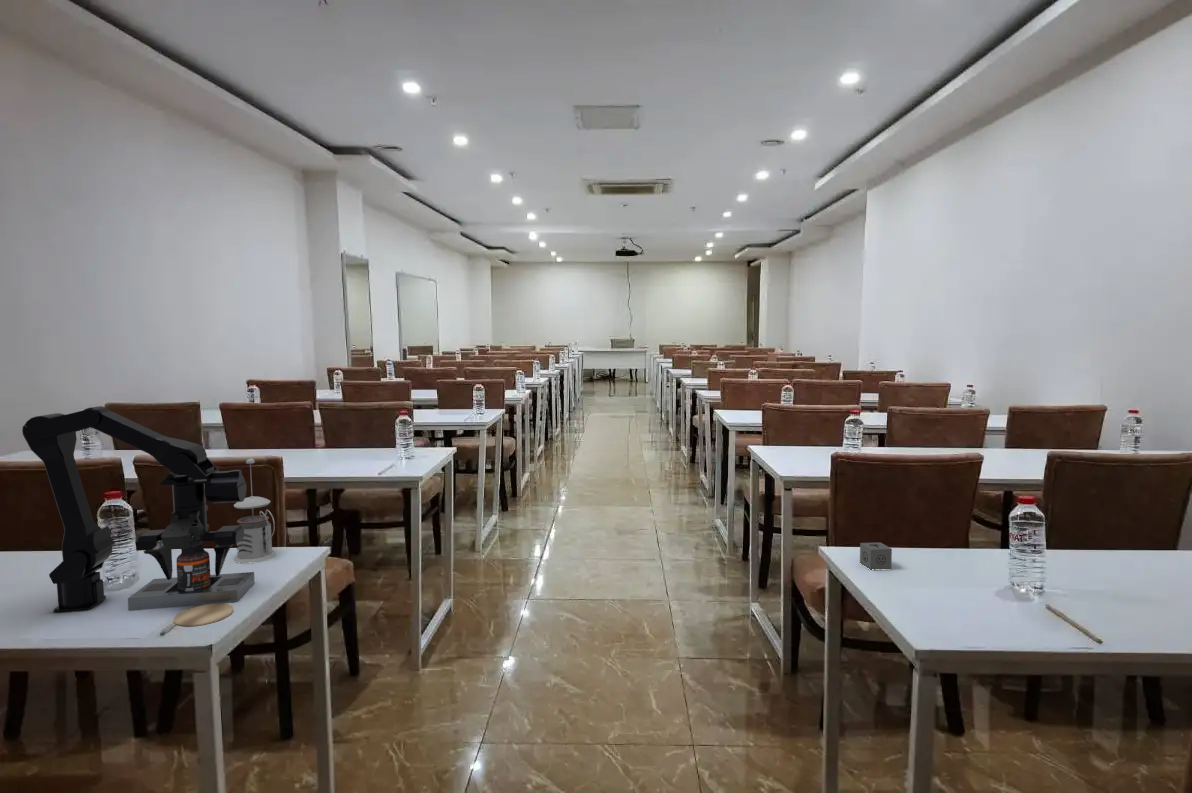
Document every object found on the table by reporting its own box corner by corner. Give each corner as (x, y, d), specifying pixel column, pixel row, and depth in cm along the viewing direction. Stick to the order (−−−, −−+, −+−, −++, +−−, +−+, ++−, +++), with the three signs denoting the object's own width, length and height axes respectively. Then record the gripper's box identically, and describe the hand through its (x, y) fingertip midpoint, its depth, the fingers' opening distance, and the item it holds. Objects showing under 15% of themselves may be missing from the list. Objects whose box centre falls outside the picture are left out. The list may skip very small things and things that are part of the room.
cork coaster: (164, 628, 120) (164, 626, 120) (187, 607, 130) (187, 605, 130) (223, 623, 122) (222, 621, 122) (241, 603, 132) (241, 601, 132)
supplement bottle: (195, 602, 132) (192, 548, 132) (171, 600, 134) (167, 547, 133) (218, 591, 138) (215, 540, 137) (194, 589, 139) (191, 538, 139)
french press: (259, 548, 168) (255, 454, 166) (290, 554, 163) (286, 457, 161) (223, 560, 159) (218, 460, 157) (254, 566, 154) (249, 463, 152)
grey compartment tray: (128, 610, 129) (127, 598, 128) (154, 590, 139) (153, 578, 139) (237, 601, 132) (236, 589, 132) (254, 582, 143) (254, 571, 143)
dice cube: (880, 562, 153) (880, 542, 153) (891, 570, 148) (891, 548, 148) (859, 563, 153) (860, 543, 153) (870, 570, 148) (870, 549, 148)
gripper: (119, 517, 125) (124, 595, 126) (224, 511, 128) (228, 587, 130) (147, 503, 136) (151, 575, 137) (243, 498, 139) (246, 569, 140)
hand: (193, 577), depth 136 cm, fingers open, 9 cm apart
